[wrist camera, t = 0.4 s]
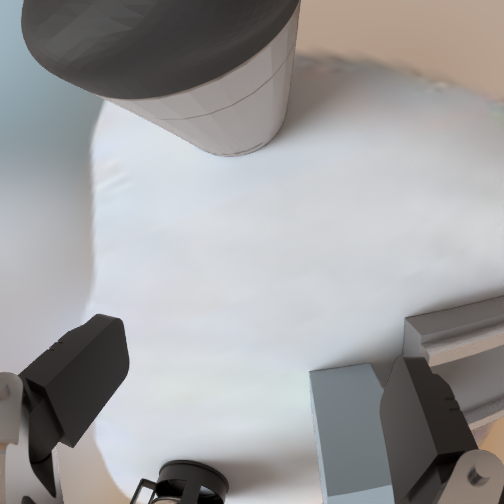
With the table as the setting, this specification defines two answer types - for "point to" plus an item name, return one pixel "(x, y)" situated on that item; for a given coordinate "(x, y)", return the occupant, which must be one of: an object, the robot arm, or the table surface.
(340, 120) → the table surface
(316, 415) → the light blue rectangular block
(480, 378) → the stand
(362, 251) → the table surface
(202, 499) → the french press
